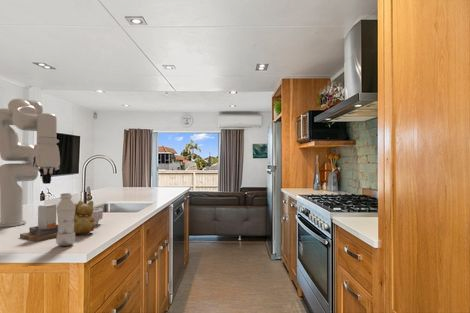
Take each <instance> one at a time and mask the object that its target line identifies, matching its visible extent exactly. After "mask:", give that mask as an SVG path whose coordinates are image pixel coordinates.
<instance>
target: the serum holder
mask: <svg viewBox="0 0 470 313" xmlns="http://www.w3.org/2000/svg"><path fill="white" fill-rule="evenodd" d="M57 232H58V223H56V227H52V228H47V229H38V225H36V226H30V227H29V230H28V232H24V233H19V237H20V238H21V239H24V240H29V241H34V242H41V241H42V242H43V241H46V240H52V239H55V238H56V237H57Z"/></svg>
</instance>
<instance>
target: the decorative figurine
mask: <svg viewBox="0 0 470 313" xmlns="http://www.w3.org/2000/svg"><path fill="white" fill-rule="evenodd" d="M74 204H75V206H76V209H75V215H74V222H75V223H74V232H75V236H87V235H89V234H90V233H91V232H93V231H95V228H96V225H95V222H94V221H95V219H94V217H93V216H92V215H91V214H92V213H93V208H94V201H93V200H89V201H88V202H87V203H85V202H84V200H78V202H77V203H74Z"/></svg>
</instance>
